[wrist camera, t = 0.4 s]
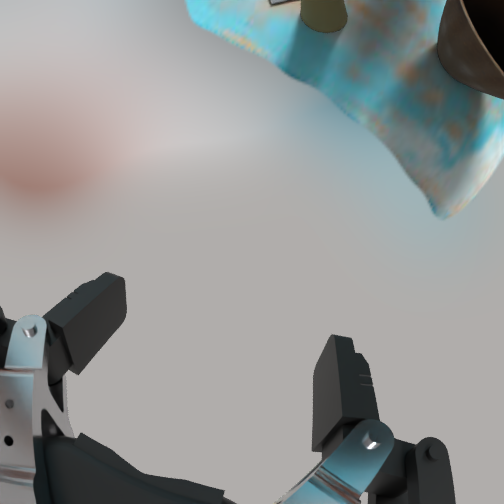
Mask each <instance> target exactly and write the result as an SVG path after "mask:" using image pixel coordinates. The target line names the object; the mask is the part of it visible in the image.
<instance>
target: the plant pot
mask: <svg viewBox="0 0 504 504" xmlns="http://www.w3.org/2000/svg"><path fill="white" fill-rule="evenodd" d="M437 51H438V56H439V59H440V61H441V63H442V65H443V67H444V68H445V70H446V71H447V72H448V73H449V74H450V75H451V76H452V77H453V78H454V79H456V80H457V81H459V82H461V83H463V84H465V85H467V86H469V87H471V88H473V89H476V90H478V91H481V92H483V93H486V94H489V95H492V96H495V97H498V98H501V99H504V0H447V1H446V4H445V7H444V10H443V14H442V18H441V22H440V27H439V33H438V44H437Z"/></svg>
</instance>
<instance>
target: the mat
mask: <svg viewBox="0 0 504 504" xmlns="http://www.w3.org/2000/svg"><path fill="white" fill-rule="evenodd" d="M270 1H271V3H272V4H276V3H281V2H285V1H289V0H270Z"/></svg>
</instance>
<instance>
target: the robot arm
mask: <svg viewBox="0 0 504 504" xmlns="http://www.w3.org/2000/svg"><path fill="white" fill-rule="evenodd" d="M126 313H127V305H126V290H125V280H124V278H123V277H120V276H117V275H115V274H112V273H109V272H105V273H103V274H102V275H101V276H99V277H98V278H97V279H96V280H92V281H89V282H87V283H84V284H82V285H81V286H79V287H78V288H77V289H75V290H74V292H72V293H70V294H69V295H68V296H67V298H64V299H63V300H62V301H61V302H60V303H58V304H57V305H56V306H55V307H53V308H52V309H51V310H50V311H49V312H47V313H46V314H45V315H44V316H43V317H40V316H38V315H28V316H24V317H22V318H20V319H19V320H18V321H14V320H10V319H7V318H5V316H4V313H3V310H2V308H1V307H0V504H236V503H235V502H233V501H231V500H229V499H227V498H225V497H223V495H224V490H220V489H216V488H212V487H208V486H205V485H201V484H198V483H194V482H191V481H187V480H182V479H173V478H166V477H160V476H153V475H148V474H144V473H142V472H140V471H139V470H137V469H136V468H134V467H133V466H132V465H130V464H129V463H128V462H126V461H125V460H124V459H122V458H121V457H120V456H119V455H117V454H116V453H115V452H114V451H113V450H111V449H110V448H108V447H106V446H104V445H102V444H100V443H98V442H97V441H95V440H93V439H91V438H90V437H88V436H86V435H85V434H83V433H80V435H79V436H78V438H75V437H74V434H73V430H72V428H71V425H70V422H69V418H68V407H67V390H66V376H65V373H66V372H67V371H68V370H70V371H72V372H73V373H75V374H77V375H79V374H80V373H81V371H82V370H83V369H84V368H85V367H86V365H87V364H88V363H89V362H90V361H91V359H92V358H93V357H94V356H95V354H96V353H97V352H98V351H99V350H100V349H101V348H102V346H103V345H104V344H105V343H106V342H107V340H108V339H109V338H110V337H111V336H112V335H113V333H114V332H115V331H116V330H117V329H118V328H119V327H120V325H121V324H122V323H123V322H124V320H125V317H126ZM372 385H373V383H372V378H371V373H370V368H369V364H368V363H367V361H366V360H365V359H364V357H363V355H362V354H360V353H355V350H354V345H353V340H352V338H349V337H343V336H338V335H331V336H330V337H329V339H328V341H327V344H326V346H325V347H324V350H323V352H322V354H321V356H320V358H319V360H318V362H317V364H316V367H315V370H314V375H313V430H312V451H313V452H322V460H321V461H320V462H319V463H318V464H317V465H316V466H315V467H314V468H313V469H312V470H311V471H310V472H309V473H308V474H307V475H306V476H305V477H304V478H303V479H301V480H300V481H299V482H298V483H297V484H296V485H295V486H294V487H293V488H291V490H289V491H288V492H287V493H286V494H285V495H283V496H282V497H281V498H279V499H278V500H277V501H276V502H274V503H273V504H361V501H360V500H359V498H360V496H361V494H362V493H363V492H368V504H456V503H455V493H454V485H453V478H452V472H451V466H450V460H449V455H448V451H447V448H446V446H445V445H444V444H443V443H442V442H441V441H440V440H439V439H437V438H433V437H427V438H424V439H422V440H421V441H420V442H419V443H418V444H416V445H415V444H412V443H408V442H405V441H401V440H398V439H395V438H394V436H393V433H392V431H391V430H390V428H389V427H388V426H387V425H386V424H384V423H382V422H381V421H380V419H379V413H378V409H377V402H376V397H375V392H374V387H372Z"/></svg>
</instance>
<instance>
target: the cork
mask: <svg viewBox="0 0 504 504" xmlns="http://www.w3.org/2000/svg"><path fill="white" fill-rule="evenodd" d="M301 17H302V20H303V22H304V23H305V24H306V25H307V26H308V27H310V28H311V29H313V30H315V31H318V32H323V33H330V32H335V31H338V30H340V29H341V28H343V27H344V26H345V24H346V22H347V12H346V8H345V4H344V0H301Z"/></svg>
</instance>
